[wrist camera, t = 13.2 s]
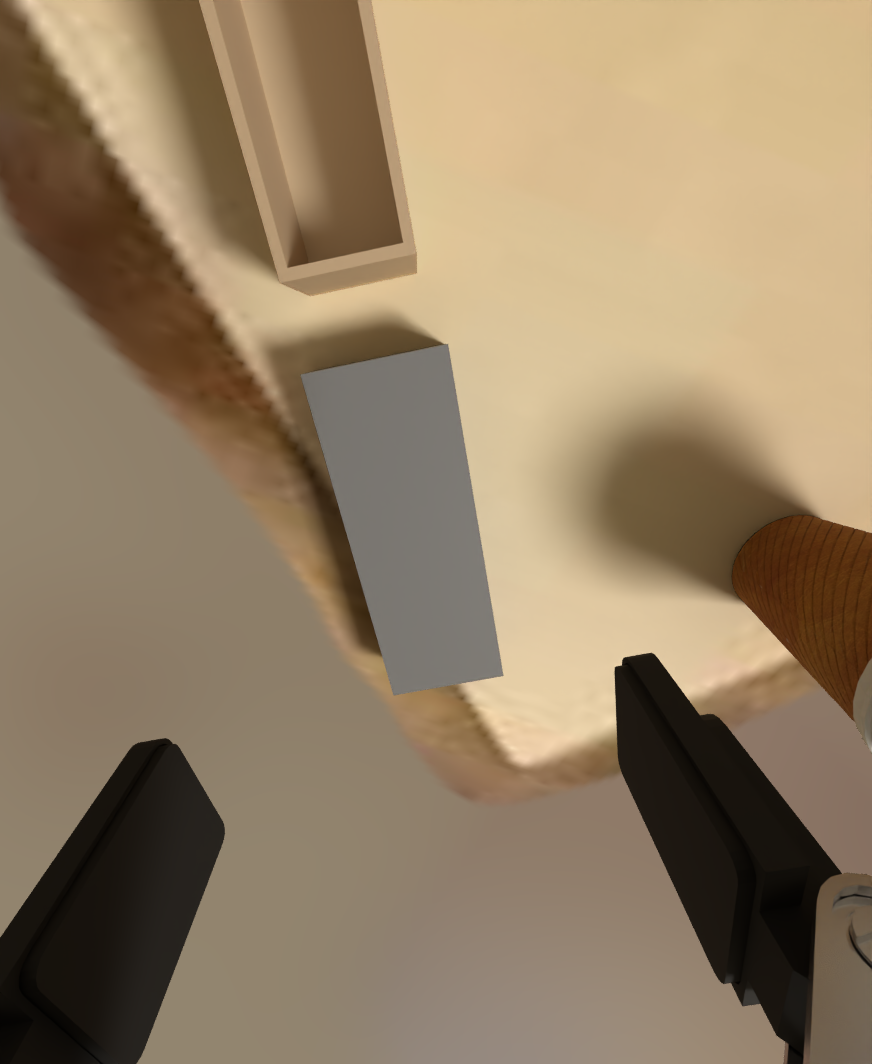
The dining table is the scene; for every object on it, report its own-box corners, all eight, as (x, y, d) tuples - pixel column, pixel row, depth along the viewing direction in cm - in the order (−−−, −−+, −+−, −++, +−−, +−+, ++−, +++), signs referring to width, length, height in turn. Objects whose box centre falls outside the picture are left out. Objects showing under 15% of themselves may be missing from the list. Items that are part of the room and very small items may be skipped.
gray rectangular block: (314, 370, 22) (300, 374, 19) (444, 344, 22) (447, 344, 19) (395, 661, 29) (393, 695, 26) (495, 643, 29) (503, 675, 26)
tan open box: (165, -248, 15) (50, -516, 10) (314, -287, 15) (267, -579, 10) (310, 296, 21) (279, 282, 16) (417, 273, 21) (416, 253, 16)
